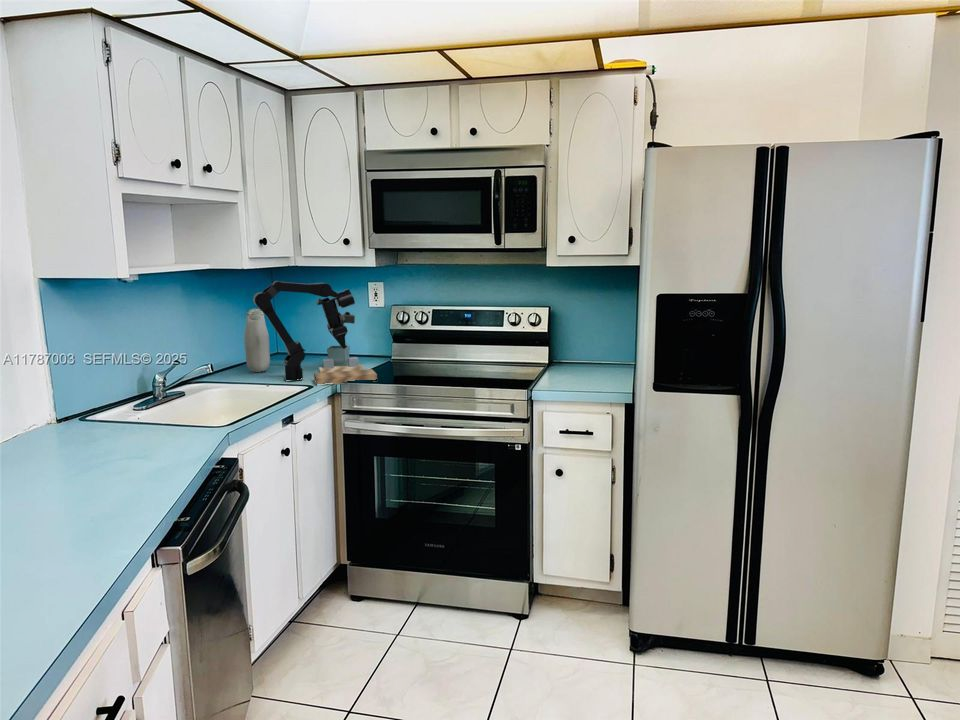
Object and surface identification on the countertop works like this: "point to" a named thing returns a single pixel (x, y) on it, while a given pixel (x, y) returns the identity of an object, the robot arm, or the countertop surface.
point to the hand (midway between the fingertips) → (343, 346)
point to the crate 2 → (353, 362)
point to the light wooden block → (340, 369)
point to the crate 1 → (328, 363)
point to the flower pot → (338, 355)
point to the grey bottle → (256, 341)
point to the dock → (344, 376)
